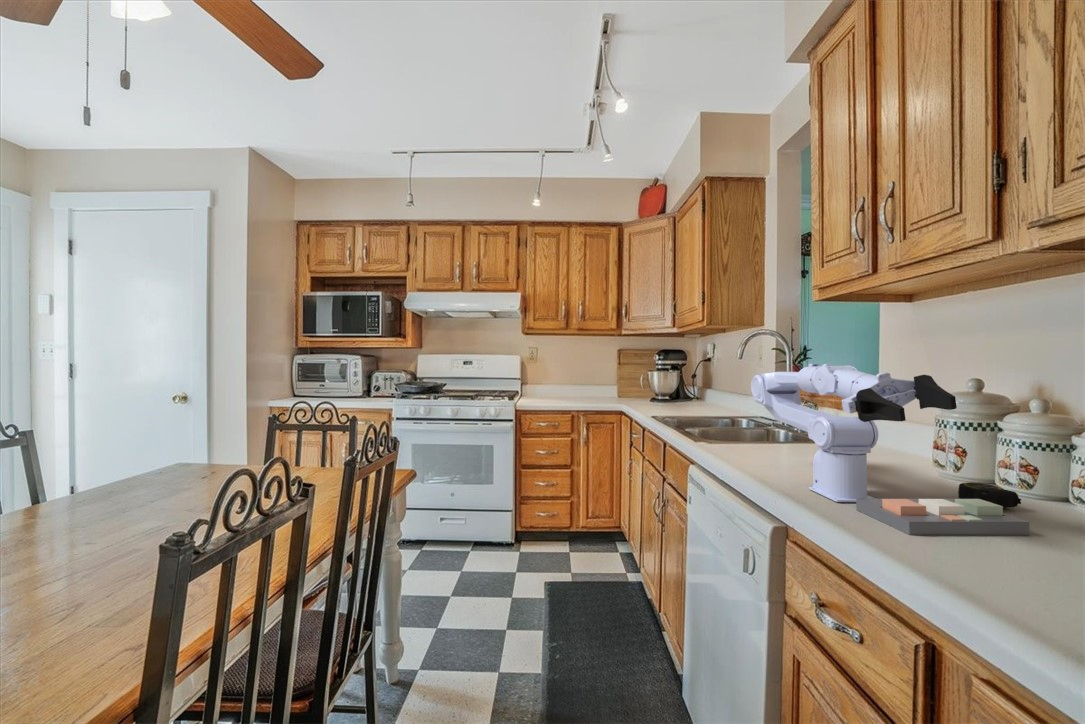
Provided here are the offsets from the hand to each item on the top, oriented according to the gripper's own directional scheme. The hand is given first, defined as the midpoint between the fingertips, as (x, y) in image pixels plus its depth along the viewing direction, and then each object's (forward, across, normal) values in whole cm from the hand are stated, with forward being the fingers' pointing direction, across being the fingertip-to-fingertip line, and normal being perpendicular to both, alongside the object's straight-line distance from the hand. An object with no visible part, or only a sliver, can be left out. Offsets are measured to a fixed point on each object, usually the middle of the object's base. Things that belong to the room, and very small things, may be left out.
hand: (928, 408), depth 70 cm
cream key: (-2, +1, +19) cm, 20 cm away
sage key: (-2, +7, +21) cm, 22 cm away
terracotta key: (-2, -4, +18) cm, 19 cm away
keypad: (-3, +1, +21) cm, 21 cm away
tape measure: (-10, +16, +26) cm, 32 cm away
